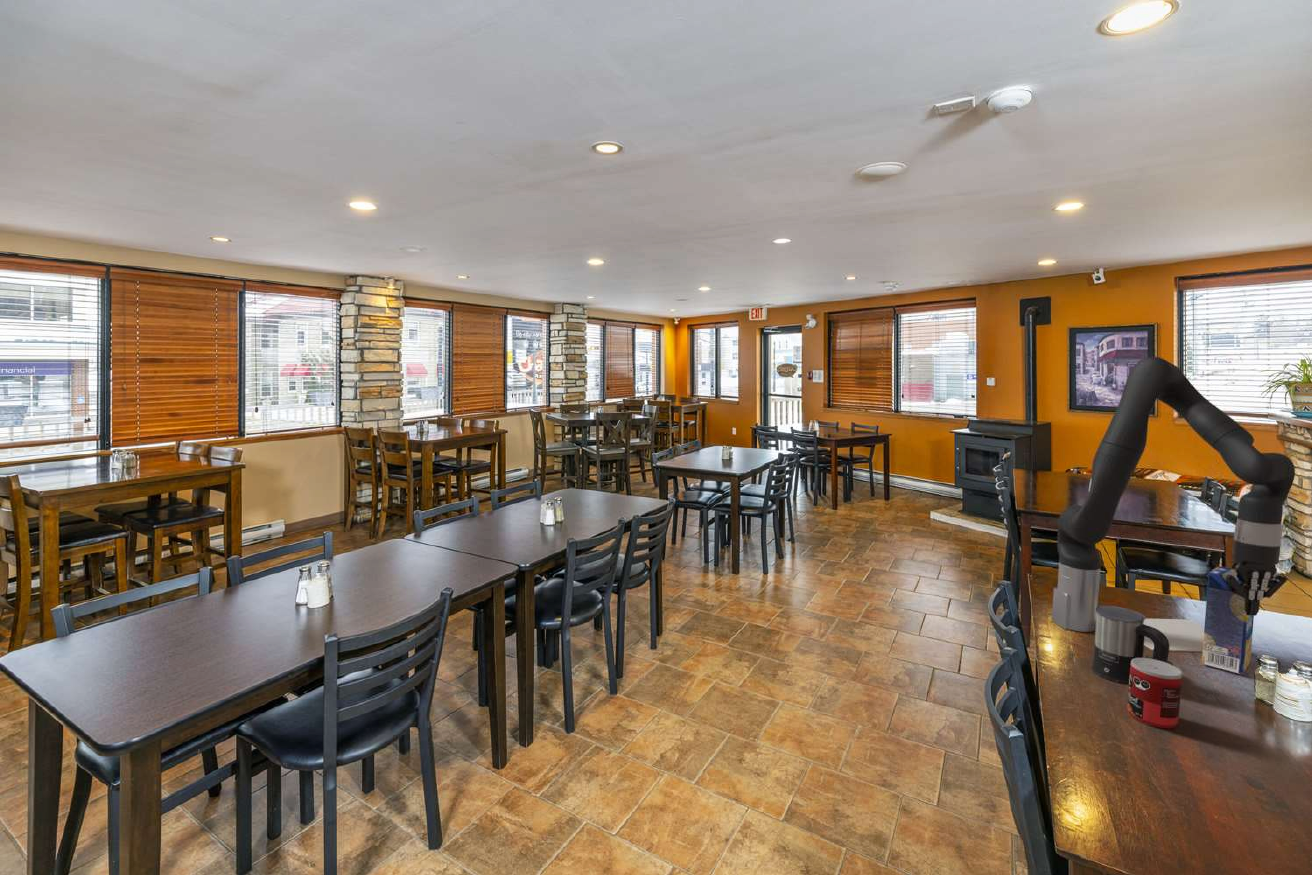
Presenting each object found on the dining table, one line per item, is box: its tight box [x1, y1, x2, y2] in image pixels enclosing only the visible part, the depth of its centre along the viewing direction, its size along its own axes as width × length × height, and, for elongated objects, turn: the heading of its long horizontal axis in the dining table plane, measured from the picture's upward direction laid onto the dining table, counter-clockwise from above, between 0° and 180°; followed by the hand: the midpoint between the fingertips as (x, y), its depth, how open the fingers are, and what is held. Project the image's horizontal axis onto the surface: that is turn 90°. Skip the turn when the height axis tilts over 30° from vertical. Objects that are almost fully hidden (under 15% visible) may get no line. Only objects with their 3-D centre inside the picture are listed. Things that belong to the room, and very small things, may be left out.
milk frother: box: [1091, 605, 1174, 684], centre depth 138 cm, size 14×16×15 cm
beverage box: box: [1201, 565, 1255, 675], centre depth 142 cm, size 7×11×22 cm, turn 128°
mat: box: [1143, 618, 1255, 654], centre depth 159 cm, size 24×20×1 cm
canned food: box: [1126, 657, 1183, 730], centre depth 120 cm, size 8×8×11 cm
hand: (1249, 614), depth 137 cm, fingers closed
